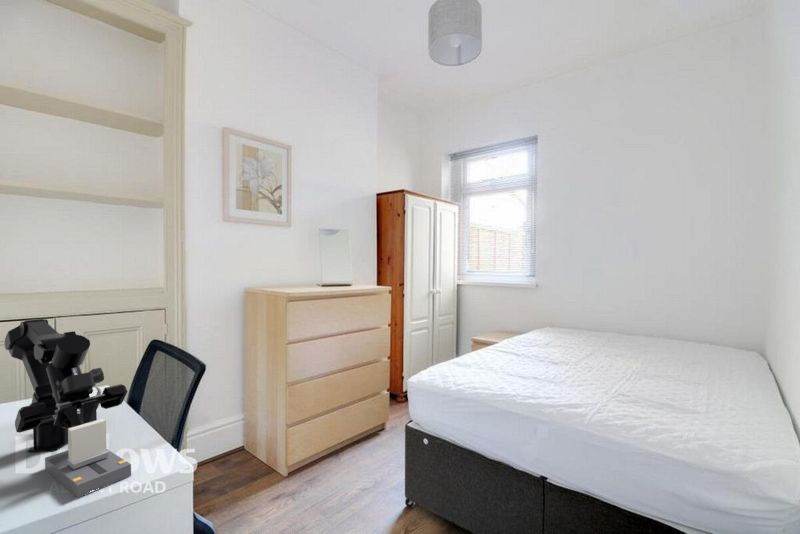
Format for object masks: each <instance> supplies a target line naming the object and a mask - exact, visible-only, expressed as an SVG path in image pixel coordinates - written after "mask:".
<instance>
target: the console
mask: <svg viewBox="0 0 800 534" xmlns="http://www.w3.org/2000/svg"><path fill="white" fill-rule="evenodd" d="M107 452H108V457H106V458H103V459H101V460H98V461H95V462H92V463H90V464H87V465H84V466H81V467H79V468H76V469H73V468H71V467H70V466H69V465H68V464H67V459H69V457H68V450H65V451H61V452H58V453H55V454H52V455H50V456H49V455H48V456H46V457H44V469H45V470H46V471H47V472H48V473H49V474H50V475H52V477H53V478H54V479H56V481H58V482H59V483H60V484H61V485H62V486H64V488H65V489H67V491H69V492H70V493H71V494H72V495H74V497H75V498H77V499H79V498H81V496H82V497H84V496H86V495H85V494H87V493H89V492H90V491H92V490H96V489H98V488H101V487H103V488H105V487H104V486H106V487H108V486H110V485H113V484H115V483H117V482H116V481H118V482H120V481H122V480H124V479H127V478H129V477H132V464H131V463H130V462H129V461H126V460H125V459H124V458H122V457H120V456H119V455H117V454H115V453H114V452H113V451H112V450H109V449H108V448H107ZM119 480H120V481H119ZM114 482H115V483H114ZM112 483H113V484H112ZM109 484H110V485H109ZM107 485H108V486H107ZM101 489H102V488H101ZM96 491H97V490H96ZM89 494H90V493H89ZM83 495H84V496H83ZM87 495H88V494H87Z"/></svg>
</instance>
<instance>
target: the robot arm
mask: <svg viewBox="0 0 800 534" xmlns="http://www.w3.org/2000/svg"><path fill="white" fill-rule="evenodd" d="M90 345H91V342H90V339H88V338H87V337H86V336H83V335H82V334H81V335H80V334H77V333H76V331H66V332H63V333H59V331H57V330H55V329H54V328H53V327H52V325H50V324H49V320H48V319H46V318H45V319H44V318H37V319H27V320H24V321H21V322H20V324H19V325H18V326H15V327H14V328H12V329H10V330H8V331H7V333H6V335H5V338H4V348H5V350H6V351H8V352H9V354H10V356H11V357H12V358H15V359H16V360H17V359H18V360H21V362H22V363H23V365H24V368H25V370H26V374H27V377H28V379H29V381H30V383H31V385H32V388H33V391H34V392H33V394H32V399H31V403H30V404H29V405H26V406H22V407H20V408H19V409H18V411H17V413H16V417H15V420H14V427H15V431H16V433H23V432H27V431H31V430H32V431H33V432H32V435H33V446H31V447H30V448H29V449H27V452H28V453H31V452H34V451H35V452H46V451H56V450H58V449H59V450H60V448H62V447H65V446H66V445H67V444H68V428H72V427H75V426H79V425H82V424H86V423H89V422H90V419H91V416H93V415H94V414H95V412H97V410H98V407H99V406H100V408H102V409H106V410H107V409H110V408H111V409H112V408H114V407H117V406H118V407H119V406H120V405H122V404H123V402H124V400H125V398H126V396H127V394H128V389H127V386H126V385H124V384H122V383H120V384H115V385H111V386H107V387H104V389H103V391H102V392H101V395H97V394H96V395H97V396H96V395H93V396H90V394H93V392H94V389H93V386H97V385H96V384H100V383H102V382H103V381H104V380H105V375H104V372H103V369H102V367H96V368H93V369H91V370H90V371H89V372H84V373H82V369H81V367H80V366H81V365H83V363H84V361H85V359H86V356H87V354H88V351H89V349H90ZM77 411H80V415H79V417H78V414H77Z"/></svg>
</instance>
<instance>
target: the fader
mask: <svg viewBox="0 0 800 534" xmlns="http://www.w3.org/2000/svg"><path fill="white" fill-rule="evenodd" d="M67 444H68V447H67V449H68V457H69V459H67V464H68V465H69V466H70V467H71V468H73V469H76V468H79V467H81V466H84V465H87V464H90V463H92V462H95V461H98V460H101V459H103V458H106V457H108V452H107V449H108V447H107V420H106V419H104V418H100V419H97V420H96V421H93V422H89V423H86V424H82V425H79V426H75V427H72V428H68V443H67Z"/></svg>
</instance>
